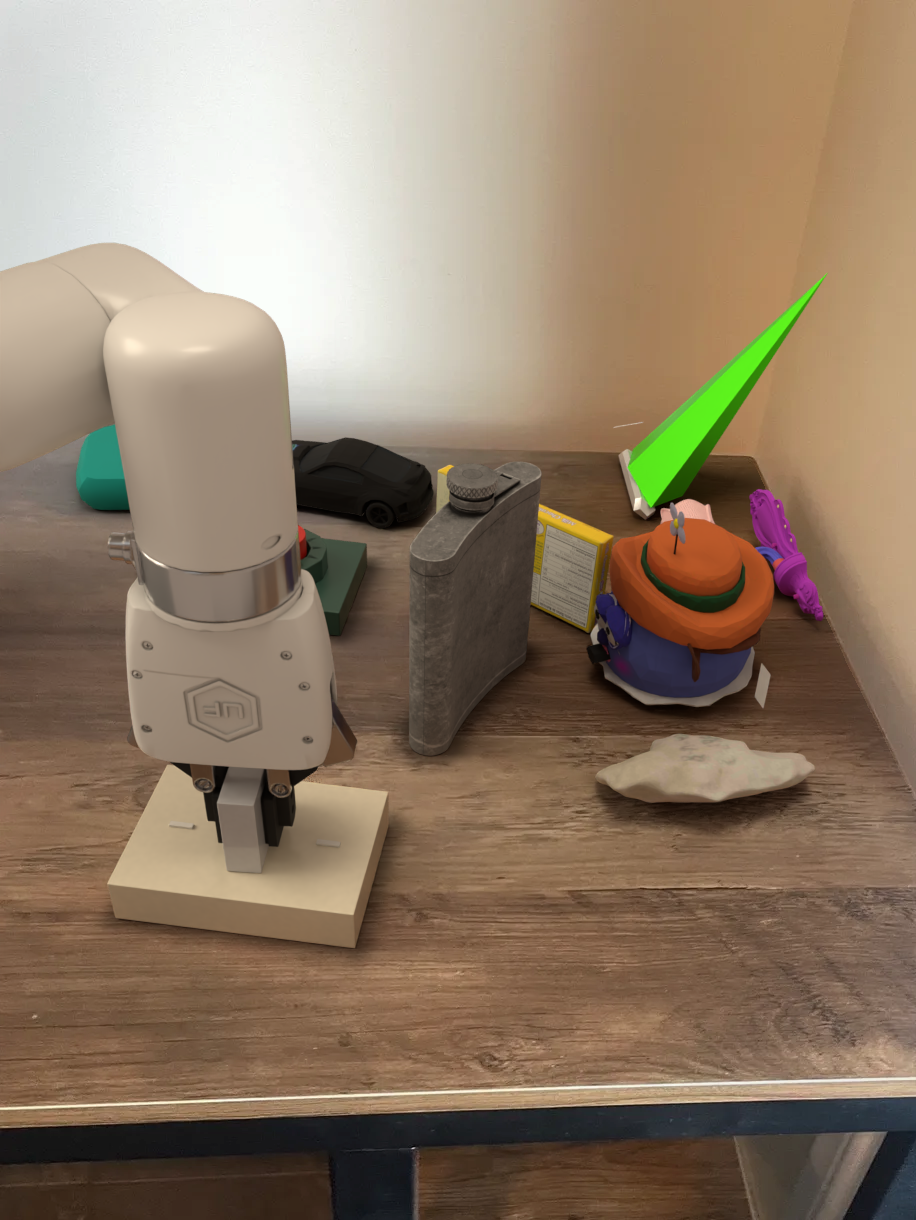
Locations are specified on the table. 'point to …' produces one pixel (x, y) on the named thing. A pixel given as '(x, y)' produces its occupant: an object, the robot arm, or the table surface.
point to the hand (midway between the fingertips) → (253, 826)
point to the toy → (683, 614)
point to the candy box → (562, 563)
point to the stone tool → (703, 771)
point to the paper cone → (701, 421)
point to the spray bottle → (102, 471)
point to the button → (302, 542)
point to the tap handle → (243, 819)
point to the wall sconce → (769, 545)
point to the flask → (469, 596)
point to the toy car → (360, 480)
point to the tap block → (254, 902)
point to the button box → (335, 575)
